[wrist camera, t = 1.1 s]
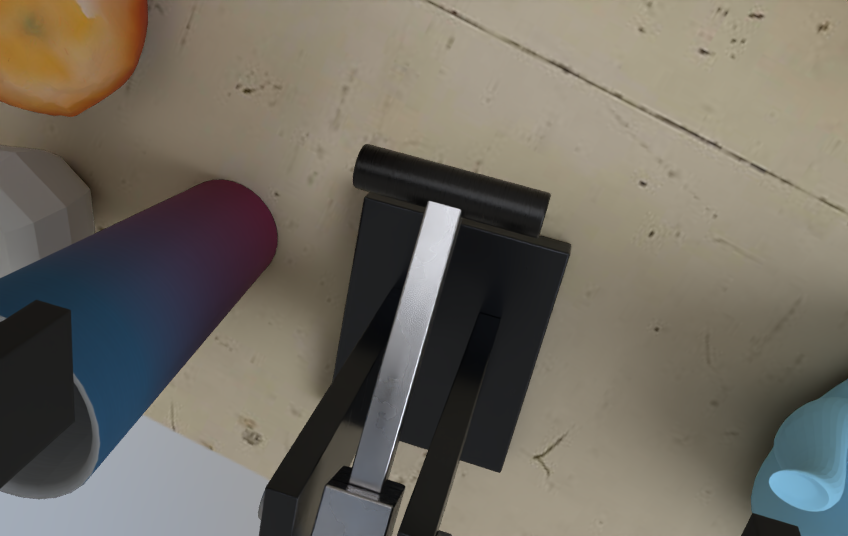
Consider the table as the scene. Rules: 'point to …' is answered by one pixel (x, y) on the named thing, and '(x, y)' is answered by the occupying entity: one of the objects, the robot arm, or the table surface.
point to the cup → (138, 313)
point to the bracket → (426, 363)
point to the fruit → (68, 51)
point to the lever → (413, 318)
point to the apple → (39, 207)
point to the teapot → (809, 468)
